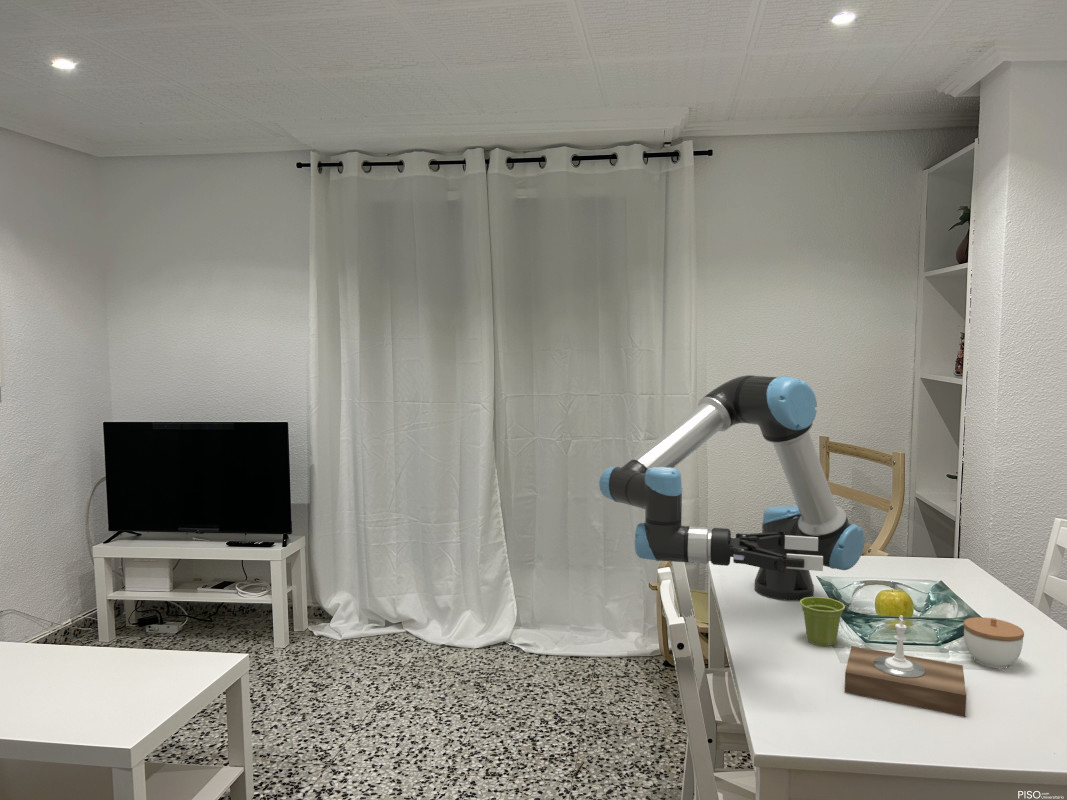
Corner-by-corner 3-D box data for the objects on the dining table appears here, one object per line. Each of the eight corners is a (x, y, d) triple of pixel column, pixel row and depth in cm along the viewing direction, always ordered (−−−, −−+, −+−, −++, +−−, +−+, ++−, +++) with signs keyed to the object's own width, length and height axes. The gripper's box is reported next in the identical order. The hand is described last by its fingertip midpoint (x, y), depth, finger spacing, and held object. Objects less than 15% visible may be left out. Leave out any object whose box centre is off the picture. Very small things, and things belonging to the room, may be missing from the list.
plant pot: (795, 644, 164) (796, 606, 164) (802, 630, 173) (803, 594, 172) (841, 653, 160) (842, 613, 159) (845, 637, 168) (846, 600, 168)
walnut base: (850, 664, 154) (851, 644, 154) (961, 685, 145) (962, 663, 145) (844, 692, 142) (845, 670, 142) (965, 716, 133) (966, 693, 132)
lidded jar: (950, 656, 159) (952, 613, 158) (986, 648, 162) (988, 607, 162) (997, 677, 149) (999, 631, 148) (1034, 668, 152) (1036, 624, 152)
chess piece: (909, 662, 145) (912, 612, 145) (915, 673, 141) (918, 621, 140) (882, 659, 147) (884, 610, 146) (887, 669, 142) (890, 619, 141)
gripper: (714, 547, 166) (815, 554, 160) (705, 582, 142) (824, 592, 136) (714, 514, 165) (816, 519, 159) (706, 544, 142) (825, 552, 135)
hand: (820, 553), depth 147 cm, fingers open, 13 cm apart
